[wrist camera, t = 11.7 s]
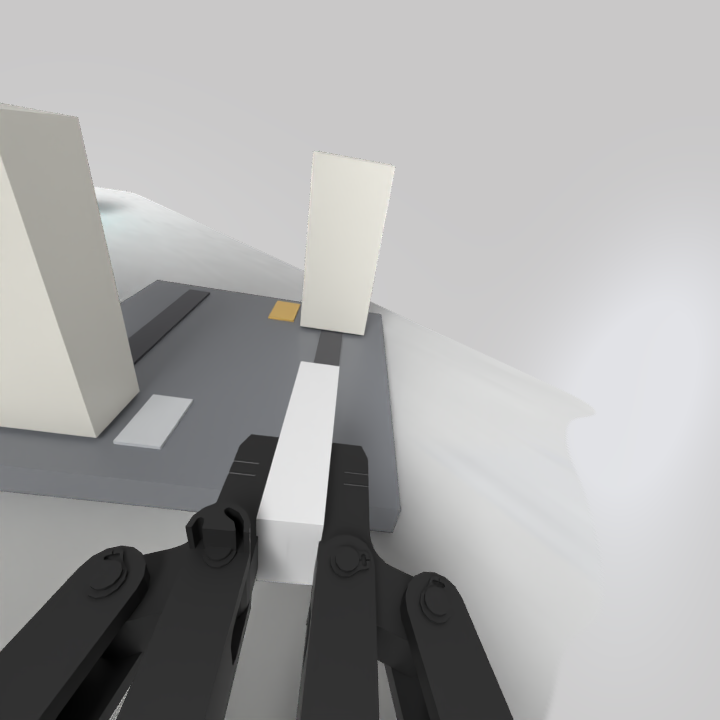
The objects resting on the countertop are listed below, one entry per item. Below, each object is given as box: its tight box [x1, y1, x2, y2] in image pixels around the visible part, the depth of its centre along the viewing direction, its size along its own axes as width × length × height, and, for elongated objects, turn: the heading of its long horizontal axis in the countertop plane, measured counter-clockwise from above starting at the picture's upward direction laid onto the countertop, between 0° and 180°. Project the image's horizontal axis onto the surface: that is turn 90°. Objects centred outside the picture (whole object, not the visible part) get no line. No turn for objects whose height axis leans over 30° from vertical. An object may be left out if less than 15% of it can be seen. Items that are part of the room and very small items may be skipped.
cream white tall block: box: [300, 151, 395, 335], centre depth 30 cm, size 4×6×14 cm, turn 89°
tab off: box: [0, 103, 140, 438], centre depth 16 cm, size 4×6×14 cm, turn 89°
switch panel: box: [0, 280, 401, 533], centre depth 27 cm, size 24×24×2 cm
